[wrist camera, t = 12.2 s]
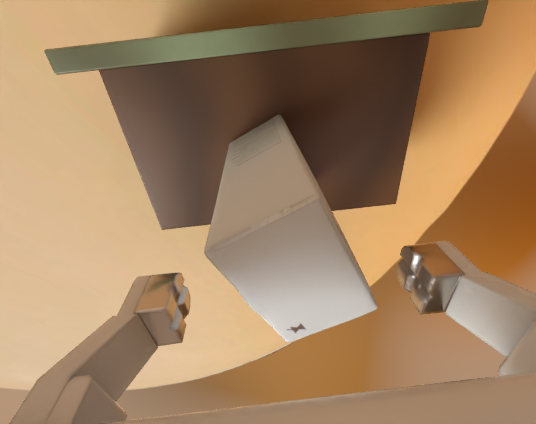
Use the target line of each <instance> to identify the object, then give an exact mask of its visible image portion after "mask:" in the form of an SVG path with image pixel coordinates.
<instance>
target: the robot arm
mask: <svg viewBox="0 0 536 424" xmlns="http://www.w3.org/2000/svg"><path fill="white" fill-rule="evenodd" d="M400 255H401V256H402V258H403V259H402V260H401V261H400V262H399V263H398V266H397V276H398V279H399V281H400V284H401V285H402V287H403V288H404V289H405V290H407V291H409V292H410V293H411V296H410V299H411V301H412V302H413V304H414V305H415V307H416V308H417V310H418V311H419V313H420V314H430V313H441V312H445V314H447V315H448V316H449V317H451V318H452V319H454V320H455V321H456V322H458V323H459V324H461V325H462V326H463V327H465V328H466V329H468V330H469V331H470V332H472V333H473V334H475V335H476V336H477V337H479V338H480V339H482V340H483V341H484V342H486V343H487V344H489V345H490V346H492V347H493V348H494V349H496V350H497V351H499V352H500V353H501V354H503V355H504V356H506V359H505V360H504V361H503V363H502V364H501V365H500V366H499V370H498V371H499V373H500V374H501V376H494V377H486V378H477V379H469V380H461V381H452V382H444V383H436V384H427V385H419V386H410V387H402V388H393V389H385V390H377V391H369V392H360V393H351V394H343V395H335V396H327V397H318V398H310V399H301V400H293V401H284V402H276V403H269V404H259V405H251V406H243V407H235V408H226V409H218V410H209V411H201V412H193V413H185V414H176V415H168V416H159V417H151V418H143V419H134V420H126V418H127V414H126V412H125V411H124V410H123V409H122V408H121V407H120V406H119V405H118V404H117V403H116V401H117V400H118V398H119V397H120V396H121V395H122V393H123V392H124V391H125V389H126V388H127V387H128V386H129V384H130V383H131V382H132V380H133V379H134V378H135V377H136V375H137V374H138V373H139V371H140V370H141V369H142V367H143V366H144V365H145V364H146V362H147V361H148V360H149V358H150V357H151V356H152V355H153V353H154V352H155V351H156V349H157V348H158V347H157V346H162V345H169V344H176V343H182V341H183V337H184V332H185V328H186V323H185V321H184V318H185V317H186V316H187V315H188V314H189V310H190V294H189V291H188V288H187V287H185V286H184V285H183V283H184V278H183V276H182V273H169V274H159V275H152V276H140V277H137V278H136V279H135V280H134V282H133V284H132V286H131V288H130V290H129V292H128V294H127V296H126V298H125V301H124V303H123V305H122V307H121V309H120V311H119V313H118V315H117V316H112V317H111V318H110V319H109V320H108V321H106V322H105V323H104V324H103V325H102V326H101V327H99V328H98V329H97V330H96V331H95V332H93V333H92V334H91V335H90V336H89V337H88V338H86V339H85V340H84V341H83V342H82V343H80V344H79V345H78V346H77V347H76V348H74V349H73V350H72V351H71V352H70V353H69V354H67V355H66V356H65V357H64V358H63V359H61V360H60V361H59V362H58V363H57V364H55V365H54V366H53V367H52V368H51V369H50V370H48V371H47V372H46V373H45V374H44V375H42V376H41V377H40V378H39V379H38V380H37V381H36V383H35V384H34V386H33V388H32V389H31V391H30V392H29V394H28V396H27V397H26V399H25V400H24V402H23V403H22V405H21V407H20V408H19V410H18V411H17V413H16V414H15V416H14V417H13V419H12V421H11V422H10V424H536V294H535V293H533V292H531V291H528V290H526V289H524V288H522V287H519V286H517V285H515V284H512V283H510V282H508V281H506V280H503V279H501V278H499V277H496V276H494V275H492V274H489V273H487V272H486V273H482V272H481V271H480V270H479V269H478V268H477V267H476V266H475V265H474V264H472V263H471V262H470V261H469V260H468V259H467V258H466V257H465V256H464V255H463V254H462V253H461V252H460V251H459V250H458V249H457V248H455V246H453V245H452V244H451V243H450V242H448V241H440V242H433V243H425V244H417V245H409V246H404V247H403V248H402V249H401V253H400Z"/></svg>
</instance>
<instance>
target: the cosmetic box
mask: <svg viewBox="0 0 536 424" xmlns="http://www.w3.org/2000/svg"><path fill="white" fill-rule="evenodd" d="M204 253H205V255H206V257H207V258H208V259H209V260H210V261H211V262H212V263H213V265H214V266H215V267H216V268H217V269H218V270H219V271H220V272H221V273H222V274H223V275H224V276H225V277H226V278H227V280H228V281H229V282H230V283H231V284H232V285H233V286H234V287H235V288H236V289H237V290H238V292H239V293H240V295H241V296H242V297H243V299H244V300H245V301H246V303H247V304H248V305H249V306H250V307H251V308H252V309H253V310H254V311H255V312H256V313H258V314H259V315H261V316H262V317H263V318H264V319H265V320H266V321H267V322H268V323H269V324H270V325H271V326H272V327H273V328H274V330H275V331H276V332H277V333H278V334H279V335H280V336H281V337H282V338H283V339H284V340H285V341H286V342H292V341H295V340H298V339H300V338H303V337H306V336H308V335H311V334H313V333H316V332H319V331H322V330H324V329H327V328H330V327H333V326H336V325H338V324H341V323H343V322H347V321H349V320H352V319H354V318H357V317H359V316H362V315H364V314H366V313H369V312H371V311H374V310H376V309H377V307H378V306H377V303H376V301H375V299H374V296H373V294H372V292H371V290H370V288H369V285H368V283H367V281H366V279H365V277H364V275H363V273H362V271H361V269H360V267H359V265H358V263H357V261H356V259H355V257H354V255H353V253H352V251H351V249H350V247H349V244H348V242H347V240H346V238H345V236H344V234H343V232H342V230H341V228H340V226H339V224H338V223H337V221H336V219H335V217H334V215H333V213H332V211H331V209H330V207H329V205H328V203H327V201H326V199H325V197H324V195H323V193H322V191H321V189H320V187H319V185H318V183H317V181H316V179H315V177H314V175H313V174H312V172H311V170H310V168H309V166H308V164H307V162H306V160H305V158H304V157H303V155H302V153H301V151H300V149H299V147H298V146H297V144H296V142H295V140H294V138H293V137H292V135H291V133H290V131H289V129H288V127H287V125H286V123H285V122H284V120H283V118H282V116H281V115H280V114H279V115H276V116H275V117H273V118H271V119H270V120H268V121H267V122H265V123H263V124H261V125H260V126H258V127H256V128H254V129H253V130H251V131H249V132H248V133H246V134H244V135H242V136H241V137H239V138H237V139H235V140H234V141H232V142H231V143H230V144H229V148H228V152H227V157H226V161H225V165H224V170H223V174H222V179H221V183H220V187H219V192H218V196H217V200H216V205H215V209H214V213H213V217H212V221H211V226H210V229H209V234H208V237H207V241H206V245H205V251H204Z"/></svg>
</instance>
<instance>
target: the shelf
mask: <svg viewBox="0 0 536 424" xmlns="http://www.w3.org/2000/svg"><path fill="white" fill-rule="evenodd" d="M487 5H488V0H477V1H468V2H459V3H451V4H442V5H433V6H424V7H415V8H407V9H398V10H389V11H380V12H371V13H363V14H354V15H345V16H336V17H327V18H319V19H310V20H301V21H292V22H284V23H275V24H266V25H257V26H248V27H240V28H231V29H222V30H213V31H204V32H196V33H187V34H178V35H169V36H160V37H152V38H143V39H134V40H125V41H116V42H108V43H99V44H90V45H81V46H73V47H64V48H55V49H46V50H45V54H46V56H47V58H48V60H49V62H50V64H51V66H52V69H53V71H54V73H55V74H57V75H59V74H68V73H77V72H86V71H94V70H99V72H100V74H101V77H102V79H103V82H104V85H105V87H106V90H107V92H108V95H109V97H110V100H111V102H112V105H113V107H114V110H115V112H116V115H117V117H118V120H119V122H120V125H121V128H122V130H123V133H124V135H125V138H126V140H127V143H128V145H129V148H130V150H131V153H132V155H133V158H134V160H135V163H136V165H137V168H138V170H139V173H140V176H141V178H142V181H143V183H144V186H145V188H146V191H147V193H148V196H149V198H150V201H151V203H152V206H153V208H154V211H155V213H156V216H157V219H158V221H159V224H160V226H161V229H162V230H164V229H173V228H182V227H191V226H200V225H209V224H211V221H212V217H213V213H214V209H215V205H216V200H217V196H218V192H219V187H220V183H221V179H222V174H223V170H224V165H225V161H226V157H227V152H228V148H229V144H230V143H231V142H232V141H234V140H235V139H237V138H239V137H241V136H242V135H244V134H246V133H248V132H249V131H251V130H253V129H254V128H256V127H258V126H260V125H261V124H263V123H265V122H267V121H268V120H270V119H271V118H273V117H275V116H276V115H279V114H280V115H281V116H282V118H283V120H284V122H285V123H286V125H287V127H288V129H289V131H290V133H291V135H292V137H293V138H294V140H295V142H296V144H297V146H298V147H299V149H300V151H301V153H302V155H303V157H304V158H305V160H306V162H307V164H308V166H309V168H310V170H311V172H312V174H313V175H314V177H315V179H316V181H317V183H318V185H319V187H320V189H321V191H322V193H323V195H324V197H325V199H326V201H327V203H328V205H329V207H330V209H331V211H335V210H344V209H353V208H362V207H371V206H380V205H389V204H396V200H397V195H398V190H399V185H400V180H401V175H402V170H403V165H404V160H405V155H406V151H407V146H408V141H409V136H410V131H411V126H412V121H413V116H414V111H415V106H416V101H417V96H418V91H419V86H420V81H421V76H422V71H423V66H424V61H425V56H426V51H427V46H428V41H429V36H430V32H438V31H447V30H456V29H465V28H474V27H480V26H481V25H482V22H483V19H484V15H485V12H486V8H487Z"/></svg>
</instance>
